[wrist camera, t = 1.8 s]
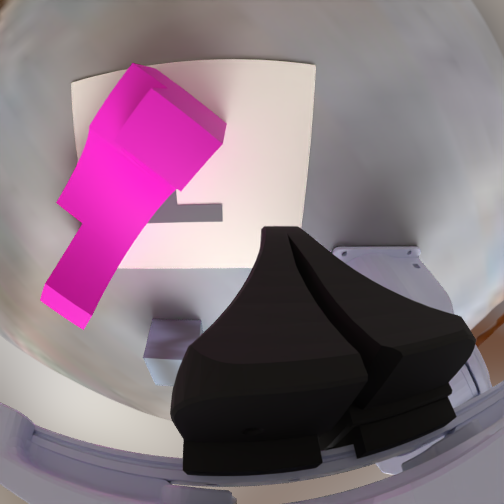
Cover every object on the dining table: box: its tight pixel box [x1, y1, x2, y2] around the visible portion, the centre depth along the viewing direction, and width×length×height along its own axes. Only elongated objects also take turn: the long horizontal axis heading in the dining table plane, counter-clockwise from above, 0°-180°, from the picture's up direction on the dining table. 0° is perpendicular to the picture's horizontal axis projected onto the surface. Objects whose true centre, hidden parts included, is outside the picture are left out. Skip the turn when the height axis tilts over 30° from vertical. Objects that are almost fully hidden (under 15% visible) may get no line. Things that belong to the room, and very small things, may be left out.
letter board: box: [71, 59, 316, 268], centre depth 18 cm, size 17×16×1 cm
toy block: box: [40, 63, 227, 330], centre depth 15 cm, size 15×6×8 cm, turn 136°
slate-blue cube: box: [143, 319, 203, 386], centre depth 26 cm, size 5×5×5 cm
